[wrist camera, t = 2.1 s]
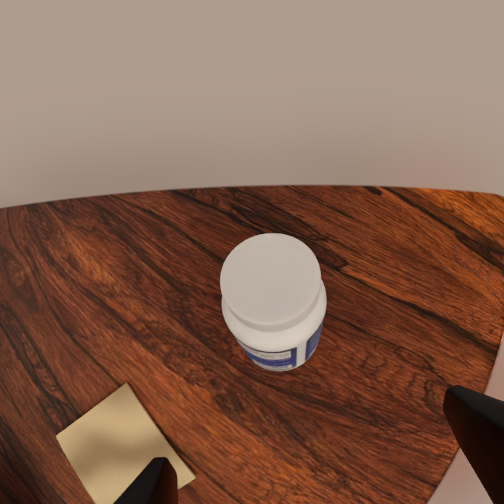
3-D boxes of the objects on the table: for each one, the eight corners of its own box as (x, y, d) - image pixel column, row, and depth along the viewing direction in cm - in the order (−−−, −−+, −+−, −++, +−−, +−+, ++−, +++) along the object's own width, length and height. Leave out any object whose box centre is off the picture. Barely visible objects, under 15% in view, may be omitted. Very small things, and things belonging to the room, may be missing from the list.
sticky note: (197, 477, 18) (195, 477, 18) (113, 525, 16) (112, 526, 16) (128, 382, 22) (126, 382, 22) (57, 436, 20) (55, 435, 20)
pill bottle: (288, 285, 25) (284, 204, 17) (334, 341, 22) (359, 285, 14) (226, 326, 24) (187, 264, 16) (269, 388, 21) (252, 362, 13)
